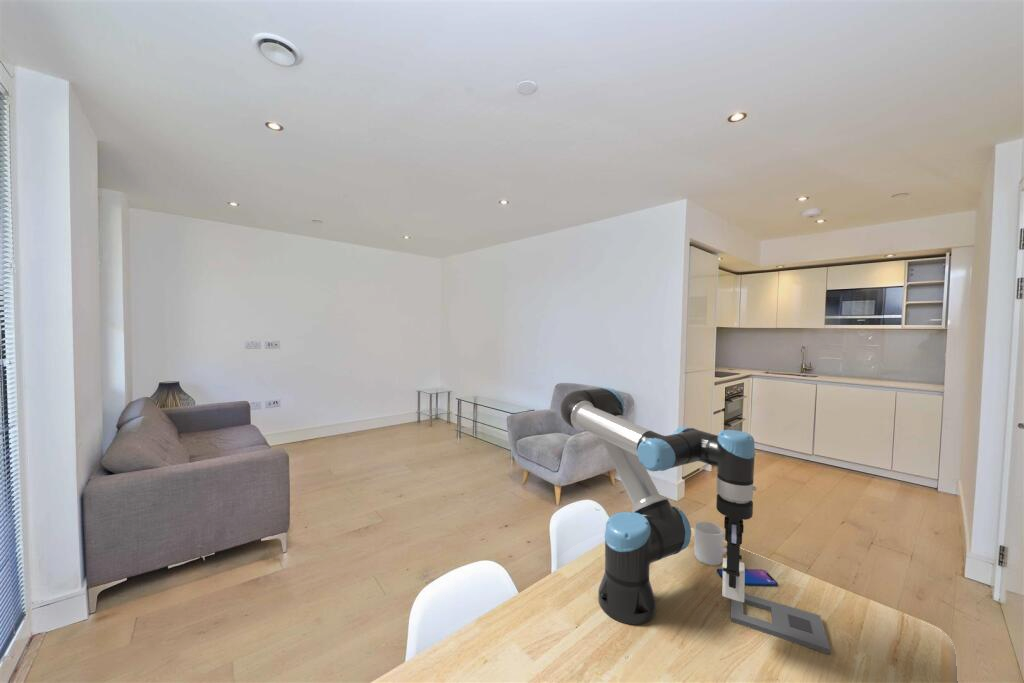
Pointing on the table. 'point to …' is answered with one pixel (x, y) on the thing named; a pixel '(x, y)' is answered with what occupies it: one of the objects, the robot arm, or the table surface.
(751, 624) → the outlet plate
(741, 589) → the charger
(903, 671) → the table surface
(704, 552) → the mug
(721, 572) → the smartphone
